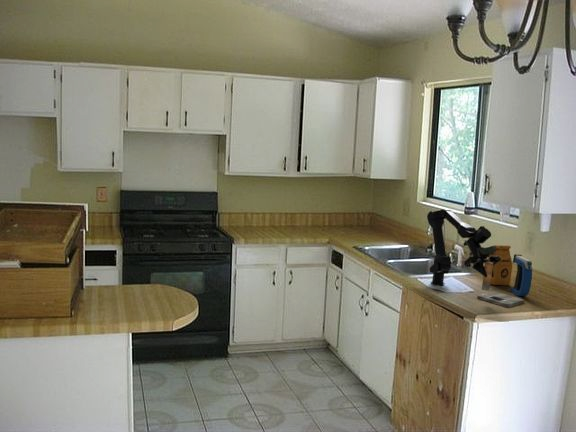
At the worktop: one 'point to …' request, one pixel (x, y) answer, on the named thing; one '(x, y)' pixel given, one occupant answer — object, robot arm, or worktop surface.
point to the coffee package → (502, 266)
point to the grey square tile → (500, 299)
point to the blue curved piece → (522, 276)
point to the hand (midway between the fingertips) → (489, 276)
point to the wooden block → (487, 279)
